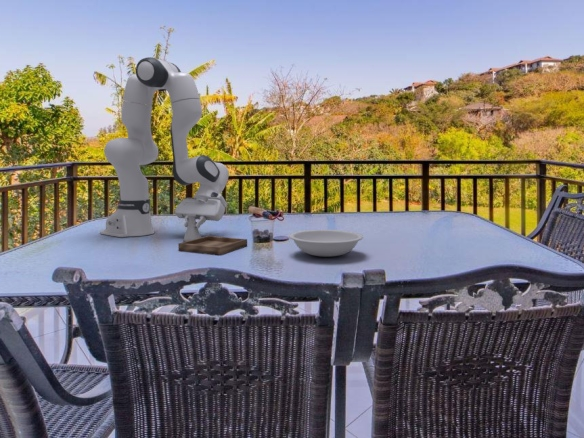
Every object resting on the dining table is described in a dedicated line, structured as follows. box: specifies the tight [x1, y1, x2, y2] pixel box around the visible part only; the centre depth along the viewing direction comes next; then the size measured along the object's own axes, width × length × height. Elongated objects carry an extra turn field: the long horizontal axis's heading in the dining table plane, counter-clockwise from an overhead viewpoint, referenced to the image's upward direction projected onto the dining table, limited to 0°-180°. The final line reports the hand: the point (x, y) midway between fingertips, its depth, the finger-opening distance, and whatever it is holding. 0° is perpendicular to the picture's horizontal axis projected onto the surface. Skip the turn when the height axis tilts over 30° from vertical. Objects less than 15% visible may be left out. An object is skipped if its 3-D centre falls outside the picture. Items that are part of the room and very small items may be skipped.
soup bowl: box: [288, 229, 364, 258], centre depth 157 cm, size 24×24×7 cm
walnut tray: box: [178, 235, 248, 256], centre depth 169 cm, size 17×17×2 cm
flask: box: [182, 214, 202, 242], centre depth 183 cm, size 7×7×10 cm
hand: (191, 226), depth 182 cm, fingers closed on flask, 3 cm apart
